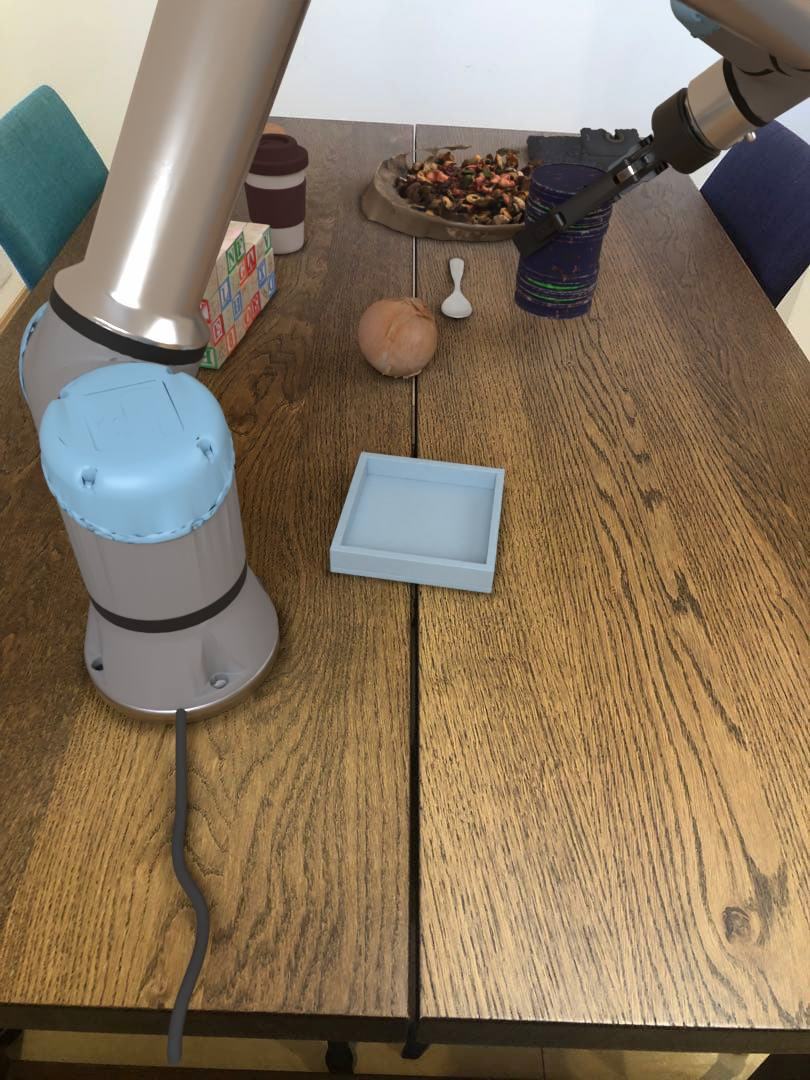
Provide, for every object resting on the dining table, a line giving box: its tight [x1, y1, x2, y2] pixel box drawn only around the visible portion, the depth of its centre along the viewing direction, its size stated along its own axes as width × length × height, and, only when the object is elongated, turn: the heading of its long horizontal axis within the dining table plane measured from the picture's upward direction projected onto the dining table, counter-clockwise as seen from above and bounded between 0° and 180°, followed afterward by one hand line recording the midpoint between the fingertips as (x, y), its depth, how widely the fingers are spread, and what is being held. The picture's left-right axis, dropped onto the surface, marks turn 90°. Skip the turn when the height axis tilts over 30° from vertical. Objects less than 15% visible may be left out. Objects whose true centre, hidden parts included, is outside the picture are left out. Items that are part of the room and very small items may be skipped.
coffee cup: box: [243, 133, 310, 255], centre depth 119 cm, size 10×10×15 cm
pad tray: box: [329, 451, 506, 594], centre depth 78 cm, size 15×15×3 cm
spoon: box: [440, 257, 473, 319], centre depth 114 cm, size 4×21×2 cm, turn 177°
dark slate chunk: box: [525, 127, 642, 172], centre depth 155 cm, size 15×22×5 cm
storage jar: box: [513, 163, 614, 321], centre depth 97 cm, size 10×10×15 cm
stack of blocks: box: [199, 220, 277, 370], centre depth 102 cm, size 21×6×12 cm, turn 168°
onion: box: [356, 296, 438, 380], centre depth 96 cm, size 10×9×10 cm
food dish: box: [361, 143, 546, 243], centre depth 136 cm, size 35×33×8 cm
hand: (540, 233), depth 98 cm, fingers closed on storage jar, 10 cm apart
